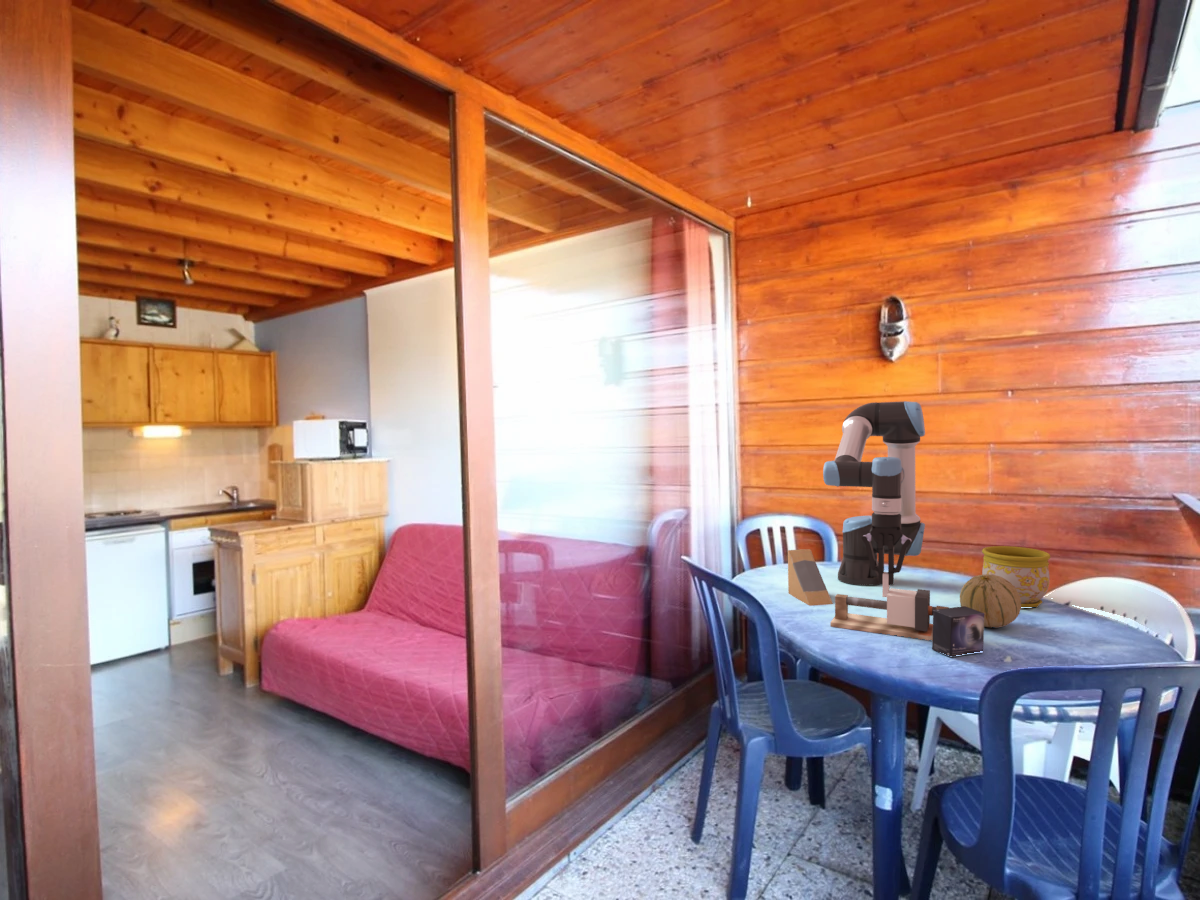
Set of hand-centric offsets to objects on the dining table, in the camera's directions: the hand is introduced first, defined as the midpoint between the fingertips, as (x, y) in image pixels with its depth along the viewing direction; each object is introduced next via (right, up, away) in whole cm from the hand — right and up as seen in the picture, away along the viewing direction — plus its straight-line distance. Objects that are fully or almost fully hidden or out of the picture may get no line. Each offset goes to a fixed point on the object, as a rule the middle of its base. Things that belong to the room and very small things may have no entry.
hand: (886, 595), depth 181 cm
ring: (+8, -7, -4) cm, 12 cm away
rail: (+1, -9, 0) cm, 9 cm away
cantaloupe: (+29, -9, +1) cm, 31 cm away
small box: (+10, -10, -18) cm, 23 cm away
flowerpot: (+50, -7, +22) cm, 55 cm away
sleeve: (+4, -7, -2) cm, 8 cm away
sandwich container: (-11, -8, +31) cm, 34 cm away
